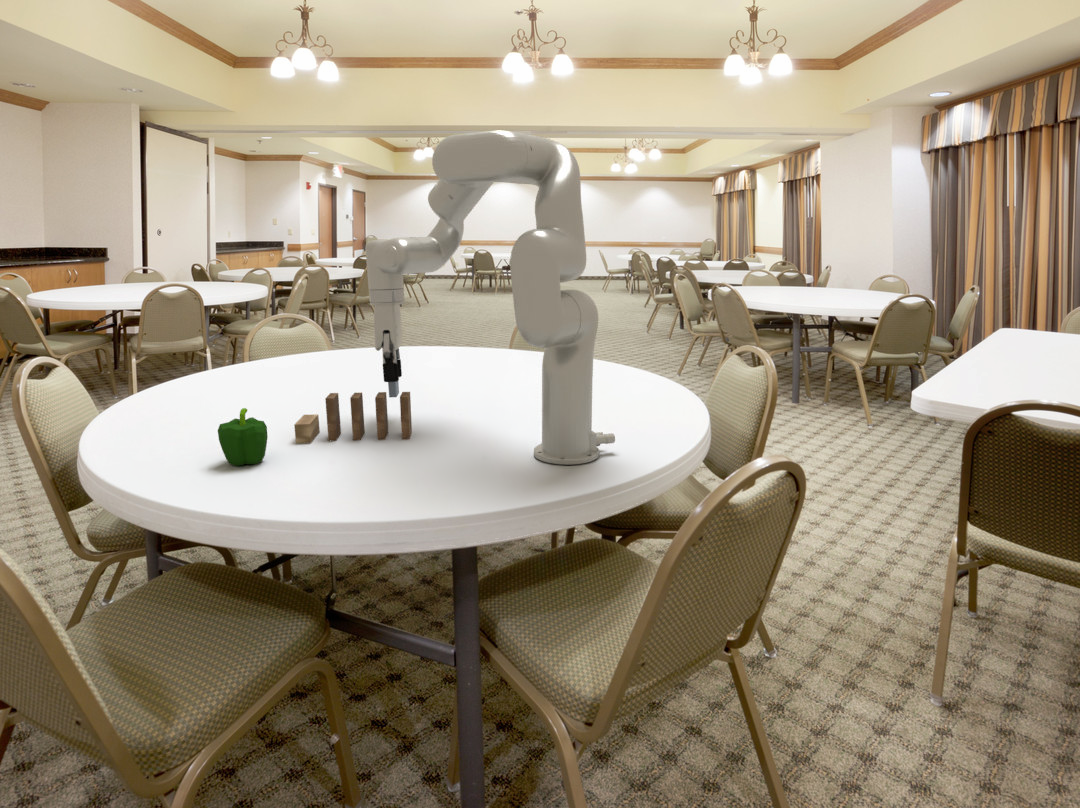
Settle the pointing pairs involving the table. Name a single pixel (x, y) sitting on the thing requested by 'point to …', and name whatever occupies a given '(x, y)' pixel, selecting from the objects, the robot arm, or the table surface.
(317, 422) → the oak end block
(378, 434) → the walnut tile
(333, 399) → the walnut tile
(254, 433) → the bell pepper
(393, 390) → the blue grey rectangular block
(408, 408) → the walnut tile
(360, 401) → the walnut tile
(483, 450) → the table surface
